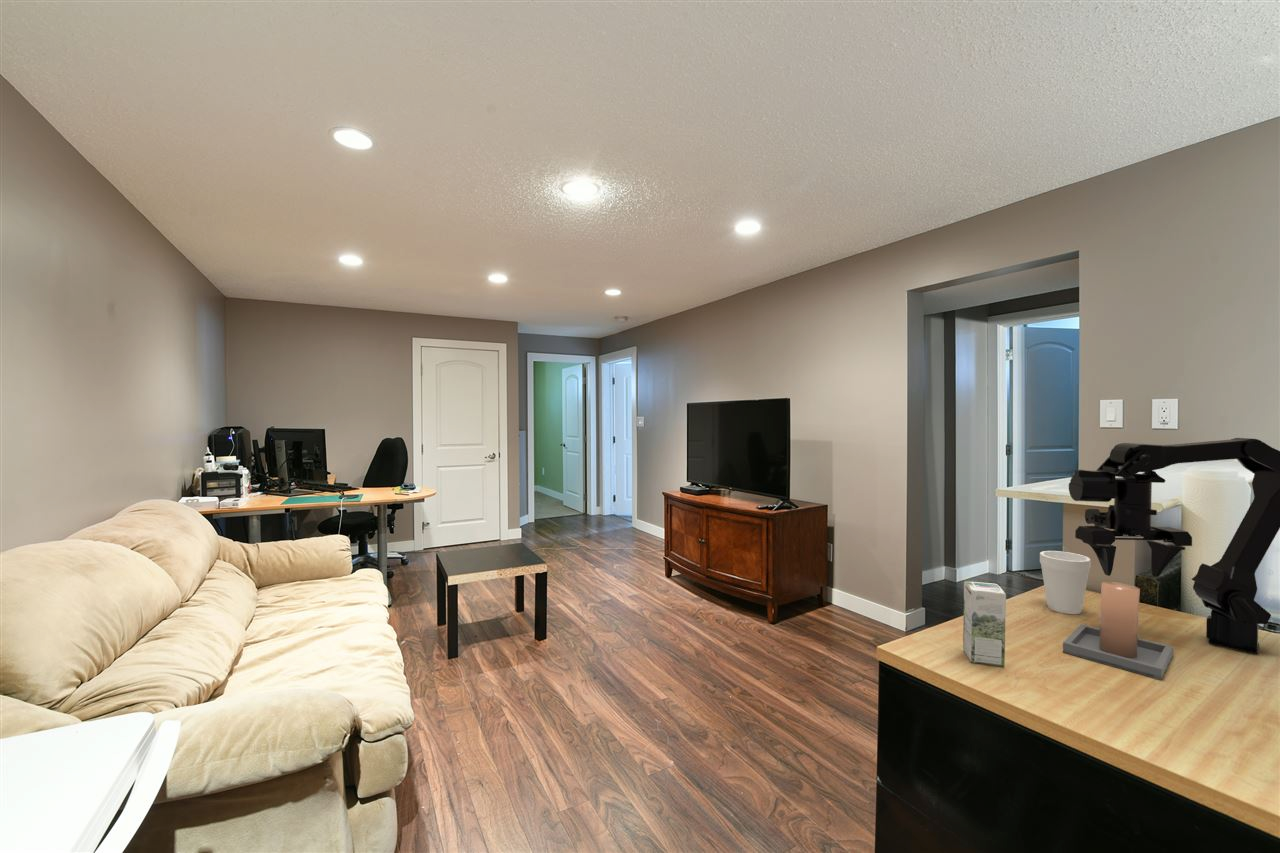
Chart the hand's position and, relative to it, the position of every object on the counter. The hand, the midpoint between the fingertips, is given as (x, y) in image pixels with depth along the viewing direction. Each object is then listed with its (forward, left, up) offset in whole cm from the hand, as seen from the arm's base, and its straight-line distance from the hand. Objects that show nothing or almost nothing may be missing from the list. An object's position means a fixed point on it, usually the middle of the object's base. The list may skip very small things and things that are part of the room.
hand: (1131, 575), depth 110 cm
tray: (0, +13, -13) cm, 18 cm away
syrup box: (+16, +35, -13) cm, 41 cm away
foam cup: (+13, -8, -13) cm, 20 cm away
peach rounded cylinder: (0, +13, -12) cm, 18 cm away
